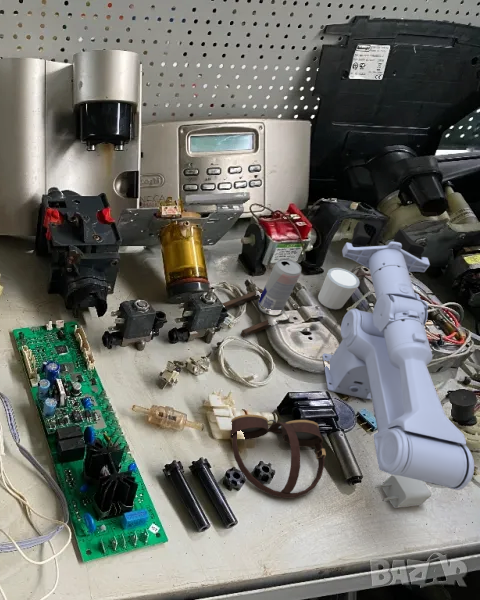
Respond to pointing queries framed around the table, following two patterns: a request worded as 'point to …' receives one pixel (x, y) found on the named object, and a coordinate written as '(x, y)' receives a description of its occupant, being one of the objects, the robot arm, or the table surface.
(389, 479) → the usb wall charger
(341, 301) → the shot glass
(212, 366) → the table surface
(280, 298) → the energy drink
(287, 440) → the goggles
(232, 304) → the cradle
